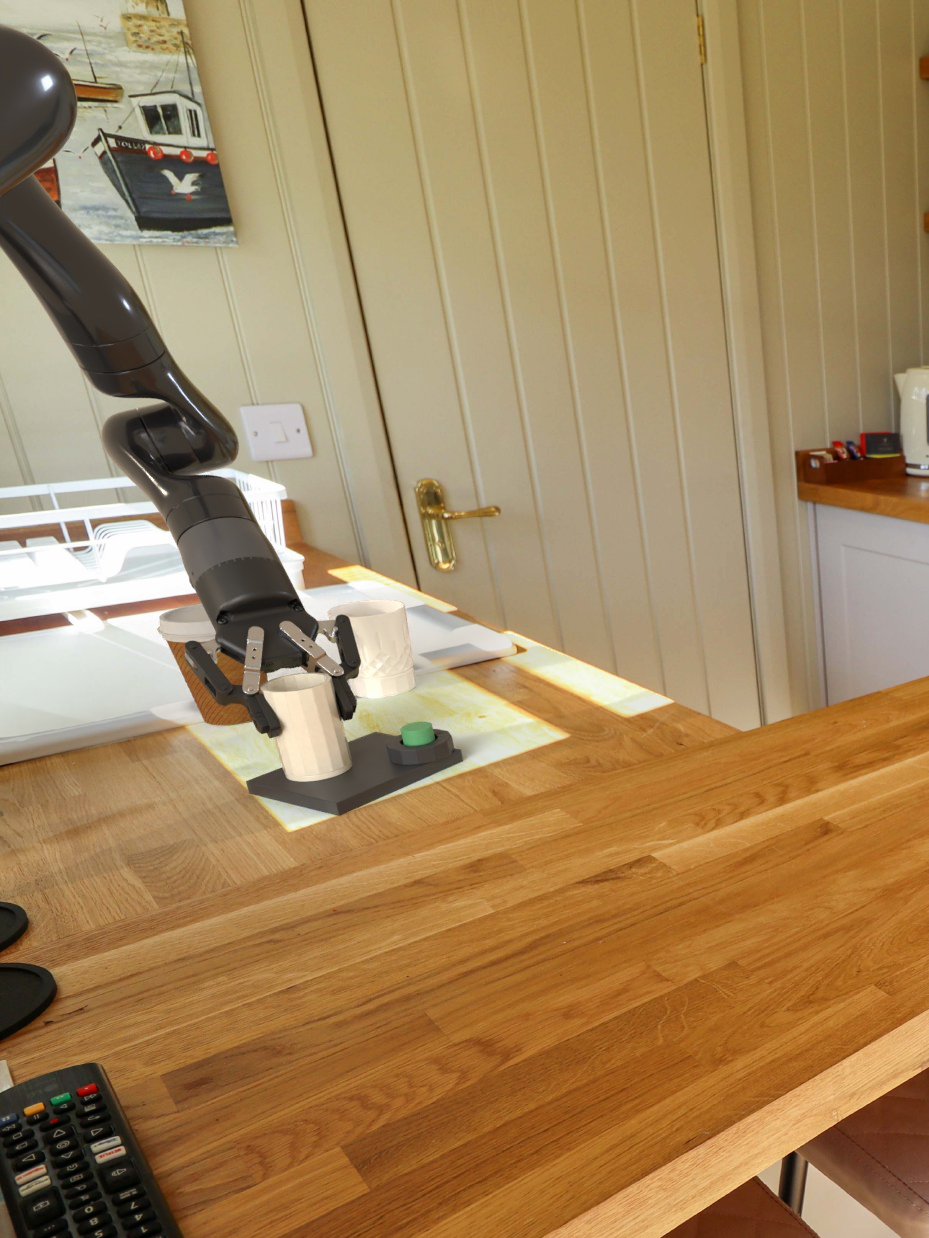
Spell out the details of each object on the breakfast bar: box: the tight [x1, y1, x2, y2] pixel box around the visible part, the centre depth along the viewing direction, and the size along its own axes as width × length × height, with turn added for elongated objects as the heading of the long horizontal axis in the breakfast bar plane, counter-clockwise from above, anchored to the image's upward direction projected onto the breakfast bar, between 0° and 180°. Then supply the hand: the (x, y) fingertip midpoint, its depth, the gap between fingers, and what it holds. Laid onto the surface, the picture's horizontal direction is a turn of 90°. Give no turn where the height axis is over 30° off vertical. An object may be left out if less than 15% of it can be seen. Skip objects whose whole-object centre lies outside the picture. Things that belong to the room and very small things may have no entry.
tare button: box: [400, 721, 435, 746], centre depth 109 cm, size 3×3×2 cm
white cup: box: [327, 599, 417, 699], centre depth 129 cm, size 8×8×10 cm
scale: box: [245, 728, 464, 817], centre depth 107 cm, size 14×12×3 cm
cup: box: [260, 672, 353, 782], centre depth 104 cm, size 6×6×9 cm
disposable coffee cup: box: [156, 603, 269, 726], centre depth 120 cm, size 10×10×12 cm
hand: (312, 724), depth 102 cm, fingers closed on cup, 5 cm apart
